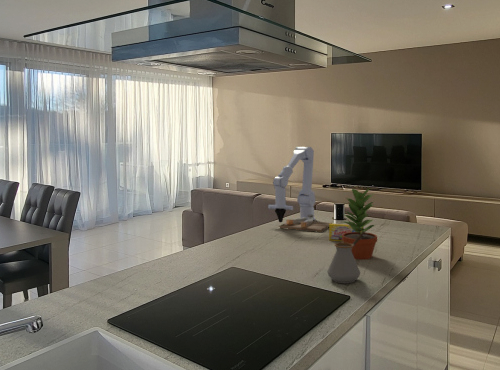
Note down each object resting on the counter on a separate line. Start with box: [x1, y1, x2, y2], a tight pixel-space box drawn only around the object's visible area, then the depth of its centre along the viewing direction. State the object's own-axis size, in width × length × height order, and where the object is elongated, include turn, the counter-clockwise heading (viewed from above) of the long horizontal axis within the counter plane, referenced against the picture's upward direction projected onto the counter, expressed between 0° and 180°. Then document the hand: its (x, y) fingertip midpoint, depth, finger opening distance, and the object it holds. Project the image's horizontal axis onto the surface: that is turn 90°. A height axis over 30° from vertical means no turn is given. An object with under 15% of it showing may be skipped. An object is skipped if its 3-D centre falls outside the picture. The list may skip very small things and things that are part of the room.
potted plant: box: [340, 186, 378, 261], centre depth 189 cm, size 15×15×30 cm
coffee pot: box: [327, 231, 368, 284], centre depth 164 cm, size 21×12×15 cm, turn 139°
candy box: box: [328, 223, 365, 242], centre depth 217 cm, size 16×2×8 cm, turn 73°
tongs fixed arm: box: [301, 214, 315, 227], centre depth 251 cm, size 17×4×4 cm, turn 153°
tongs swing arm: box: [285, 217, 307, 225], centre depth 253 cm, size 13×2×2 cm, turn 123°
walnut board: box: [278, 220, 333, 233], centre depth 251 cm, size 19×24×2 cm
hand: (280, 221), depth 254 cm, fingers closed
